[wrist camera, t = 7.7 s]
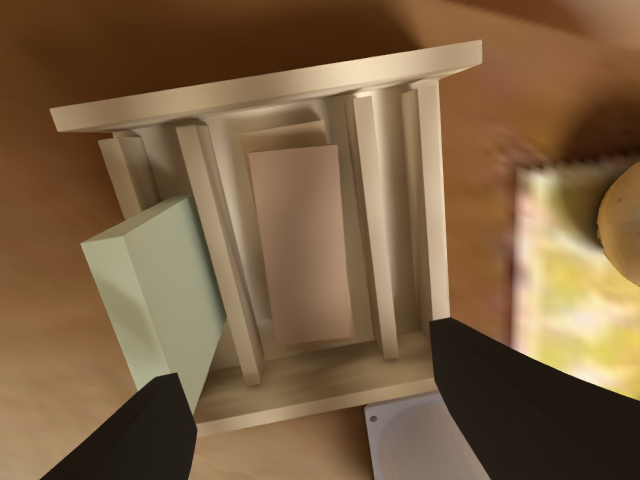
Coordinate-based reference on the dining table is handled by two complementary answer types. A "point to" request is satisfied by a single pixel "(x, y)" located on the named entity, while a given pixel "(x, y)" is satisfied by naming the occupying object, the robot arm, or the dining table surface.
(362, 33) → the dining table surface
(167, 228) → the panel
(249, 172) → the offcut lower
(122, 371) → the dining table surface
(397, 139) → the rack
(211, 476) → the dining table surface
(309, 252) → the offcut upper
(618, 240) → the onion
